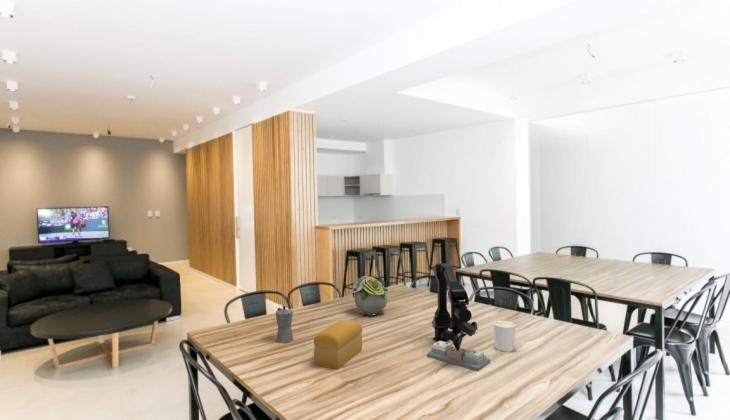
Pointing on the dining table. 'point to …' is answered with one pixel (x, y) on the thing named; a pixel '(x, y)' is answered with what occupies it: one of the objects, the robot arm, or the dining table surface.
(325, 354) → the bread
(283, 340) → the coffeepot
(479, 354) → the tile one dot
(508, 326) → the candle holder
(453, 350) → the tile three dots
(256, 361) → the dining table surface
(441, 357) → the button board
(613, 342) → the dining table surface
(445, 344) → the tile two dots
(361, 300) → the flower arrangement
